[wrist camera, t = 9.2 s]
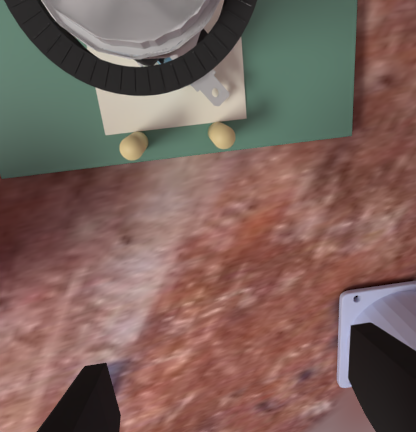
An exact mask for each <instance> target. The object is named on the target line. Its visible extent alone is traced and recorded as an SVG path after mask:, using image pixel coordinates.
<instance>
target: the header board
mask: <svg viewBox="0 0 416 432" xmlns="http://www.w3.org/2000/svg"><path fill="white" fill-rule="evenodd" d="M223 3H224V0H220V2H219V4H218V6H217V8H216V10H215V12H214V14H213V16H212V18H211V19H210V21H209V22H208V23H207V25H206V26H205V27H204V30H205V31H206V32H207V33H209V32H210V31H211V29H212V28H213V26H214V25H215V23H216V22H217V21H218V19H219V16H220V13H221V10H222V6H223ZM356 21H357V0H257V2H256V6H255V9H254V11H253V14H252V16H251V18H250V20H249V23H248V25H247V27H246V28H245V30H244V32H243V34H242V36H241V37H240V39H239V40H238V42H237V43H236V45H235V46H234V47H233V49H232V50H231V51H230V52H229V53H228V55H227V56H226V57H225V58H224V59H223V60H222V61H221V62H220V63H219V64H218V65H217V66H216V67H215V68H214V69H213V70H214V71H215V72H216V73H215V74H214V76H215V77H216V79H217V80H218V81H219V82H220V83H221V84H222V85H223V86H224V87H225V89H226V90H227V91H228V92H229V97H228V98H227V99H226V100H225V101H224V102H223V103H222V104H221V105H220V106H214V105H213V104H212V103H211V102H210V100H209V99H208V98H207V97H206V96H205V95H204V94H203V93H202V92H201V91H200V90H199V91H198V92H197V91H196V90H195V89H194V88H193V87H192V86H191V85H188V86H185V87H183V88H181V89H178V90H175V91H172V92H169V93H164V94H159V95H151V96H130V95H123V94H116V93H112V92H108V91H104V90H101V89H98V88H96V87H93V86H90V85H88V84H86V83H84V82H82V81H80V80H78V79H76V78H74V77H73V76H71V75H69V74H68V73H66V72H65V71H63V70H62V69H61V68H59V67H58V66H57V65H55V64H54V63H53V62H51V61H50V60H49V59H48V58H47V57H46V56H45V55H44V54H43V53H42V52H41V51H40V50H39V49H38V48H37V47H36V46H35V45H34V44H33V43H32V42H31V41H30V40H29V38H28V37H27V36H26V34H25V33H24V32H23V30H22V29H21V28H20V27H19V25H18V23H17V22H16V20H15V19H14V17H13V16H12V14H11V12H10V11H9V9H8V7H7V5H6V3H5V1H4V0H0V175H1V178H2V179H5V178H13V177H21V176H29V175H37V174H45V173H54V172H62V171H70V170H78V169H86V168H94V167H102V166H110V165H119V164H127V163H135V162H143V161H151V160H159V159H167V158H176V157H184V156H192V155H200V154H208V153H216V152H224V151H233V150H241V149H249V148H257V147H265V146H273V145H281V144H289V143H298V142H306V141H314V140H322V139H330V138H338V137H346V136H352V120H353V95H354V70H355V45H356ZM76 39H77V38H76ZM77 40H78V41H79V42H80V43H81V44H82V45H83V46H84V47H85V48H86V49H87V50H89V51H90V52H91V53H92V54H94V55H95V56H96V57H98V58H100V59H101V60H104V61H107V62H110V63H113V64H118V65H123V66H132V67H141V66H140V65H139V64H138V63H137V62H136V61H135V60H134V59H127V58H123V57H118V56H114V55H110V54H106V53H102V52H98V51H96V50H94V49H92V48H90V47H88V46H87V45H85V44H84V43H83V42H81V41H80V40H79V39H77ZM154 65H158V63H157V62H156V63H155V64H154ZM143 66H144V67H145V65H143ZM218 94H219V92H218V90H217V89H216V88H214V89H213V90H212V95H213V96H214V97H217V96H218Z"/></svg>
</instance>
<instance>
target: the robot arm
mask: <svg viewBox="0 0 416 432" xmlns="http://www.w3.org/2000/svg"><path fill="white" fill-rule="evenodd" d="M355 296H358V297H357V298H355V299H354V297H355ZM337 382H338V384H339V386H340V387H342V388H347V387H352V388H353V390H354V392H355V394H356V397H357V399H358V401H359V403H360V405H361V407H362V409H363V411H364V413H365V415H366V416H367V418H368V420H369V421H370V423H371V425H372V426H373V428H374V429H375V431H376V432H416V281H410V282H403V283H396V284H389V285H382V286H375V287H369V288H362V289H355V290H348V291H344V292H343V293H342V294H341V295H340V301H339V331H338V361H337ZM120 416H121V415H120V411H119V407H118V404H117V400H116V396H115V393H114V389H113V386H112V382H111V378H110V375H109V371H108V367H107V364H106V363H102V364H95V365H89V366H85V367H84V368H83V369H82V370H81V372H80V373H79V374H78V376H77V377H76V379H75V380H74V381H73V383H72V384H71V386H70V387H69V388H68V390H67V391H66V393H65V394H64V395H63V397H62V398H61V400H60V401H59V402H58V404H57V405H56V407H55V408H54V409H53V411H52V412H51V413H50V415H49V416H48V417H47V419H46V420H45V421H44V423H43V424H42V425H41V427H40V428H39V429H38V431H37V432H119V428H120Z"/></svg>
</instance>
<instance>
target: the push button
mask: <svg viewBox="0 0 416 432" xmlns="http://www.w3.org/2000/svg"><path fill="white" fill-rule="evenodd" d="M4 1H5V3H6V5H7V7H8V9H9V11H10V12H11V14H12V16H13V17H14V19H15V20H16V22H17V23H18V25H19V27H20V28H21V29H22V30H23V32H24V33H25V34H26V36H27V37H28V38H29V40H30V41H31V42H32V43H33V44H34V45H35V46H36V47H37V48H38V49H39V50H40V51H41V52H42V53H43V54H44V55H45V56H46V57H47V58H48V59H49V60H50V61H51V62H53V63H54V64H55V65H57V66H58V67H59V68H61V69H62V70H63V71H65V72H66V73H68V74H69V75H71V76H73V77H74V78H76V79H78V80H80V81H82V82H84V83H86V84H88V85H90V86H93V87H96V88H98V89H101V90H104V91H108V92H112V93H116V94H123V95H130V96H151V95H159V94H164V93H169V92H172V91H175V90H178V89H181V88H183V87H185V86H188V85H191V86H192V87H193V88H194V89H195V90H196V91H197V92H198V91H199V90H200V91H201V92H202V93H203V94H204V95H205V96H206V97H207V98H208V99H209V100H210V102H211V103H212V104H213V105H214V106H220V105H221V104H222V103H223V102H224V101H225V100H226V99H227V98H228V97H229V92H228V91H227V90H226V89H225V87H224V86H223V85H222V84H221V83H220V82H219V81H218V80H217V79H216V77H215V76H214V74H215V73H216V72H215V71H214V70H213V69H214V68H215V67H216V66H217V65H218V64H219V63H220V62H221V61H222V60H223V59H224V58H225V57H226V56H227V55H228V53H229V52H230V51H231V50H232V49H233V47H234V46H235V45H236V43H237V42H238V40H239V39H240V37H241V36H242V34H243V32H244V30H245V28H246V27H247V25H248V23H249V20H250V18H251V16H252V14H253V11H254V9H255V6H256V2H257V0H224V3H223V6H222V10H221V13H220V16H219V19H218V21H217V22H216V23H215V25H214V26H213V28H212V29H211V31H210V32H209V33H207V32H206V31H205V30H204V27H205V26H206V25H207V23H208V22H209V21H210V19H211V18H212V16H213V14H214V12H215V10H216V8H217V6H218V4H219V2H220V0H4ZM76 38H77V39H79V40H80V41H81V42H83V43H84V44H85V45H87V46H88V47H90V48H92V49H94V50H96V51H98V52H102V53H106V54H110V55H114V56H118V57H123V58H127V59H134V60H135V61H136V62H137V63H138V64H139V65H140V66H141V67H132V66H123V65H118V64H113V63H110V62H107V61H104V60H101V59H100V58H98V57H96V56H95V55H94V54H92V53H91V52H90V51H89V50H87V49H86V48H85V47H84V46H83V45H82V44H81V43H80V42H79V41H78V40H77V39H76ZM156 62H157V63H158V65H154V64H155V63H156ZM143 65H145V67H144V66H143ZM214 88H216V89H217V90H218V92H219V94H218V96H217V97H214V96H213V95H212V90H213V89H214Z"/></svg>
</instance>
